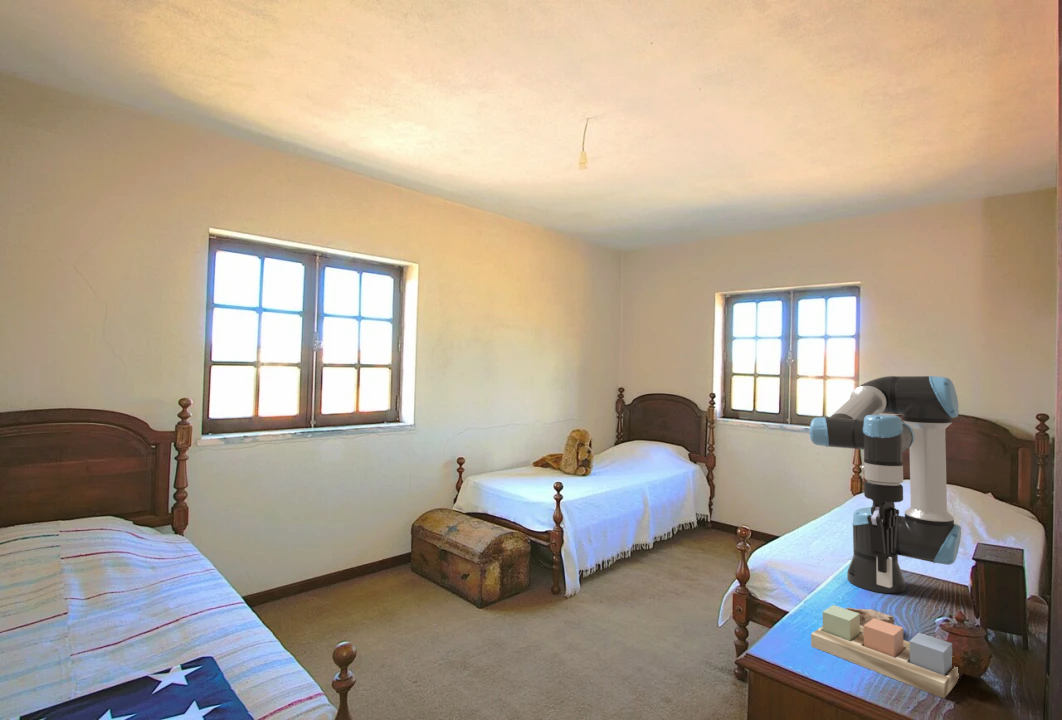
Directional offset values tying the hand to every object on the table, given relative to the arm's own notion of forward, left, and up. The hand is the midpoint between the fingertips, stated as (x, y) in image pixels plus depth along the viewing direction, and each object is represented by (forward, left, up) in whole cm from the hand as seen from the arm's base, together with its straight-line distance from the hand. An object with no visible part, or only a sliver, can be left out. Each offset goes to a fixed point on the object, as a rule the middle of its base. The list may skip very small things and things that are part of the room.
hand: (884, 585), depth 122 cm
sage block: (0, -9, -14) cm, 17 cm away
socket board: (0, 0, -17) cm, 17 cm away
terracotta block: (0, 0, -14) cm, 14 cm away
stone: (-14, -8, -17) cm, 24 cm away
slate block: (0, +9, -14) cm, 17 cm away
